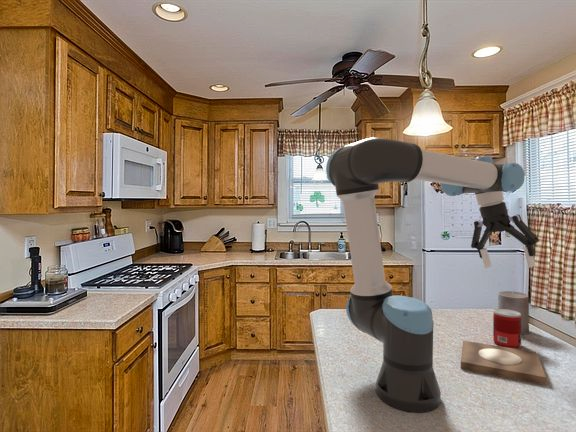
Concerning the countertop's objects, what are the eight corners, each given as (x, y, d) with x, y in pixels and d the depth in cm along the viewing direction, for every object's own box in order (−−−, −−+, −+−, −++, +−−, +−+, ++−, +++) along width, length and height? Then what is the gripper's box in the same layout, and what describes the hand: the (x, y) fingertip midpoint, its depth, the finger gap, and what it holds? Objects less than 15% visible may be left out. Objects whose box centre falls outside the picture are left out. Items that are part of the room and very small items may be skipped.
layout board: (460, 368, 100) (460, 360, 100) (463, 346, 115) (463, 339, 115) (546, 384, 90) (546, 376, 90) (536, 358, 106) (536, 351, 106)
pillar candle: (514, 325, 136) (514, 287, 136) (535, 333, 126) (535, 293, 126) (492, 326, 135) (491, 288, 134) (511, 335, 125) (511, 294, 125)
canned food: (525, 349, 112) (525, 316, 112) (498, 347, 114) (498, 314, 114) (515, 340, 120) (515, 309, 120) (489, 339, 121) (489, 308, 121)
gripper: (539, 193, 103) (558, 262, 103) (462, 207, 125) (478, 264, 124) (527, 198, 99) (547, 269, 99) (450, 212, 121) (466, 270, 121)
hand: (509, 266), depth 112 cm, fingers open, 13 cm apart
